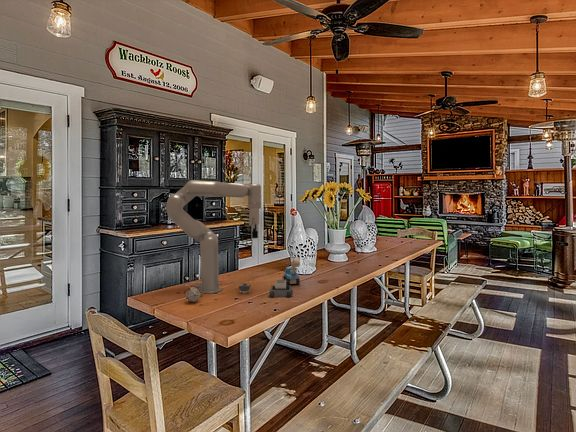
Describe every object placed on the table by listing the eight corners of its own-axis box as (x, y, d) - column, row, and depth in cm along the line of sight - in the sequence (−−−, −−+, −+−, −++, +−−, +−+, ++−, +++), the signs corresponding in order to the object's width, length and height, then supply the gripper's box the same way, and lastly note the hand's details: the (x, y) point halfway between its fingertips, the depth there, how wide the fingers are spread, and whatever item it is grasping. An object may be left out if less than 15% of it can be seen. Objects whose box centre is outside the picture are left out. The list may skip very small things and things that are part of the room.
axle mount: (239, 293, 205) (239, 286, 204) (241, 291, 210) (241, 284, 209) (248, 293, 205) (248, 286, 204) (249, 291, 210) (249, 284, 209)
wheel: (238, 290, 204) (238, 286, 204) (240, 287, 210) (240, 283, 210) (249, 290, 204) (249, 286, 204) (250, 287, 210) (250, 283, 209)
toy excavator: (289, 289, 213) (289, 259, 212) (281, 281, 229) (281, 254, 228) (303, 288, 216) (303, 258, 214) (295, 280, 232) (295, 253, 230)
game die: (191, 308, 193) (187, 290, 198) (206, 302, 193) (202, 284, 197) (183, 304, 185) (179, 286, 190) (198, 299, 185) (195, 280, 189)
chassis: (268, 297, 198) (267, 291, 198) (269, 290, 211) (269, 284, 211) (292, 297, 198) (292, 291, 198) (292, 290, 211) (292, 284, 211)
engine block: (274, 293, 202) (274, 282, 202) (275, 291, 207) (275, 279, 207) (286, 293, 202) (286, 282, 201) (286, 291, 207) (286, 279, 206)
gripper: (249, 205, 219) (250, 236, 221) (246, 206, 204) (246, 240, 206) (262, 204, 219) (262, 236, 221) (259, 206, 204) (260, 240, 206)
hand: (254, 237), depth 213 cm, fingers closed
